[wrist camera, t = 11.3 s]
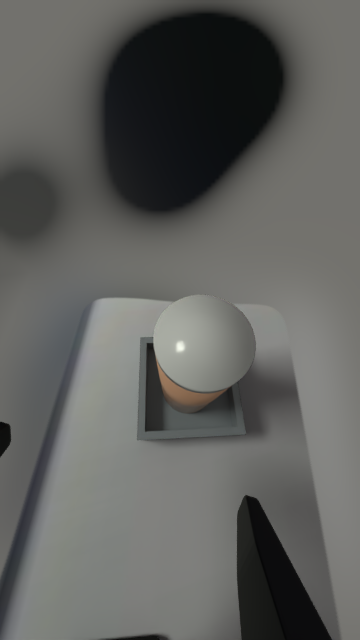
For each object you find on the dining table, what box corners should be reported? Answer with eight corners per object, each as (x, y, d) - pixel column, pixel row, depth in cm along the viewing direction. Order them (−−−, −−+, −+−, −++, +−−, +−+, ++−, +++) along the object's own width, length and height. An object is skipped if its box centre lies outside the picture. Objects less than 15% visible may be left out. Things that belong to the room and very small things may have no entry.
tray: (140, 439, 21) (137, 440, 18) (143, 346, 25) (140, 337, 22) (238, 434, 21) (246, 434, 19) (224, 343, 25) (230, 334, 23)
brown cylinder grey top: (175, 423, 21) (180, 411, 10) (153, 373, 23) (137, 315, 11) (222, 398, 22) (276, 361, 11) (198, 353, 24) (222, 282, 13)
